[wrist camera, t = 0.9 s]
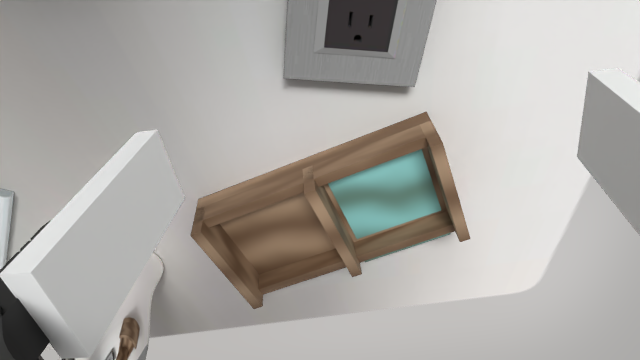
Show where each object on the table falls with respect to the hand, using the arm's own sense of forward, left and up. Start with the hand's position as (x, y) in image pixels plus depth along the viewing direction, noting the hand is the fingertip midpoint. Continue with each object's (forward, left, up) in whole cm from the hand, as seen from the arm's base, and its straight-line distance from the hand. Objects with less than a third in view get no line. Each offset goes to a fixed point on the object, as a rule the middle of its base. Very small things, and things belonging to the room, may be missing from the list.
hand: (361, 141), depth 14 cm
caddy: (+21, -7, -22) cm, 31 cm away
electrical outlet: (+3, +3, -23) cm, 23 cm away
